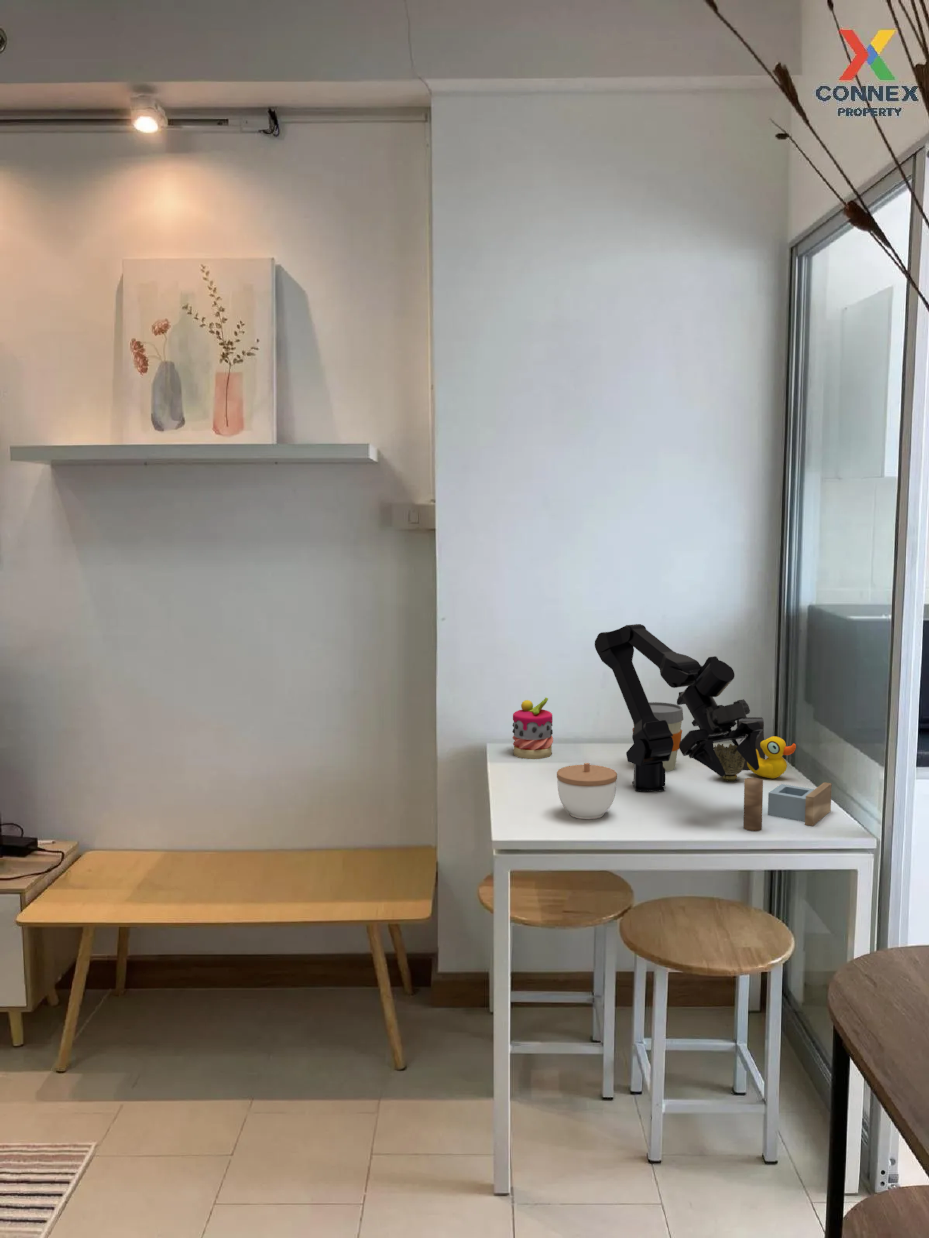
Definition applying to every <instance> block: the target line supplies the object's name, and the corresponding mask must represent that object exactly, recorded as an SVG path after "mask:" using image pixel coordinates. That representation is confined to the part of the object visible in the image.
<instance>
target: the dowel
mask: <svg viewBox="0 0 929 1238" xmlns="http://www.w3.org/2000/svg"><path fill="white" fill-rule="evenodd" d="M743 780H744V781H743V782H744V791H743V826H742V827H743V830H746V831H748V832H750V831H751V832H759V831H762V830H763V801H764V800H763V797H764V795H763V794H764V793H763V792H764V780H763V779H761V778H760V777H746V778H744V779H743Z"/></svg>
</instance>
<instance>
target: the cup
mask: <svg viewBox="0 0 929 1238" xmlns="http://www.w3.org/2000/svg"><path fill="white" fill-rule="evenodd" d="M713 747H714V751H715V753H716V755H717V757H718V759H719V761H720V762H721V764H722V766H723V768H724V771H725V773H726V774H725V776H724V777H721V779H722V780H723V781H724V782H735V781H737V779H738V774H740V773H741V772H742V771H743V770H742V769H743V767H744V762H745V759H744V758H743V757H742V755H741V754H740V753H739V752H738V751H737V750H736V748H737V747H738V746H736V745H734V744H733V743H729V744H728V746H725V745H724V743H722V744H720V743H717V745H716V744H714V746H713Z"/></svg>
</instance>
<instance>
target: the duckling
mask: <svg viewBox="0 0 929 1238" xmlns="http://www.w3.org/2000/svg"><path fill="white" fill-rule="evenodd" d="M760 746H761V748H762V750H763V752H764V754H765V757H767V758H765V759H762V758H760V755H759V753H758V750H757V749H756V752H757V757H758V762H759V769H758V770H754V769H753V768H752V767H751V766H750V765H749V763H748V762H747V765H748V768H749V769H750V770H749V771H750V772H752V773H754V775H756V776H758V777H762V778H766V779H777V778H779V777H780V776H782V775H783V774H784V773H785V772H786V771H787V768H788V763H787V760H786V759H785V758H784V757H783V756H790V755H792V754H794V753H795V751H796V748H797V745H796V743H792V745H789V746H787V744H786V741H785V740H784V739H783V738H781V737H779V736H777V735H776V736H774V735H773V736H770V737H768V738H766V739H764V740H763V741H761V743H760Z"/></svg>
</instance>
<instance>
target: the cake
mask: <svg viewBox="0 0 929 1238" xmlns="http://www.w3.org/2000/svg"><path fill="white" fill-rule="evenodd" d="M548 701H549V698H548V697H544V699H543V700H541V701H540V702H539V703H537V705H535V706H534V704H533V702H532V701H531V700H529V699H525V700H523V701H522V702H521V704H520V708H521V709H519V710H516V711H514V712H513V713H512V721H513V723H512V727H513V729H512V733H513V735H512V740H514V741H513V743H512V745H513V755H514V756H515V757H517V758H519V759H526V760H541V759H546V758H547V759H548V758H549V757H552V755H553V752H552V747H553V746H552V745H553V743H554V738H553V733H554V732H553V729H552V727H553V713H552V711H551V712H550V711H549V710H545V709H543V708H544V706H545V705H546V704H548Z"/></svg>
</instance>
